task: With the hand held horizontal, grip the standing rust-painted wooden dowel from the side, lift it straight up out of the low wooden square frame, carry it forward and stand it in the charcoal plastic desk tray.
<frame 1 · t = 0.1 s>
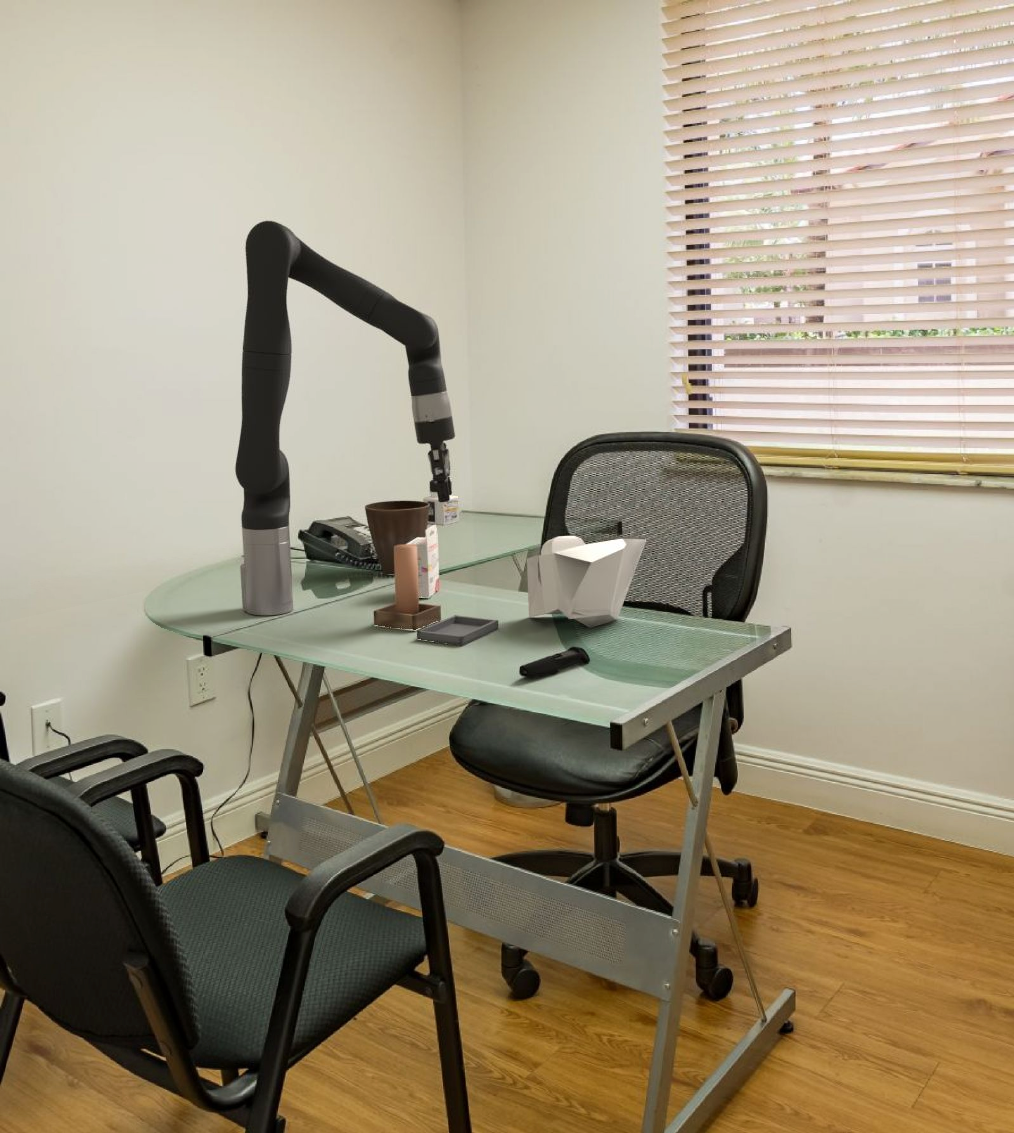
hand: (445, 498, 226), 22 cm above the table, tool pointing down, fingers open, 8 cm apart
desk tray: (458, 634, 209), on the table
dowel: (406, 585, 217), in the wooden square frame
wooden square frame: (407, 623, 218), on the table
electric trimmer: (555, 673, 186), on the table
ink cartridge box: (423, 595, 243), on the table
folded paper: (592, 622, 218), on the table
plant pot: (399, 573, 266), on the table
container: (441, 523, 340), on the table
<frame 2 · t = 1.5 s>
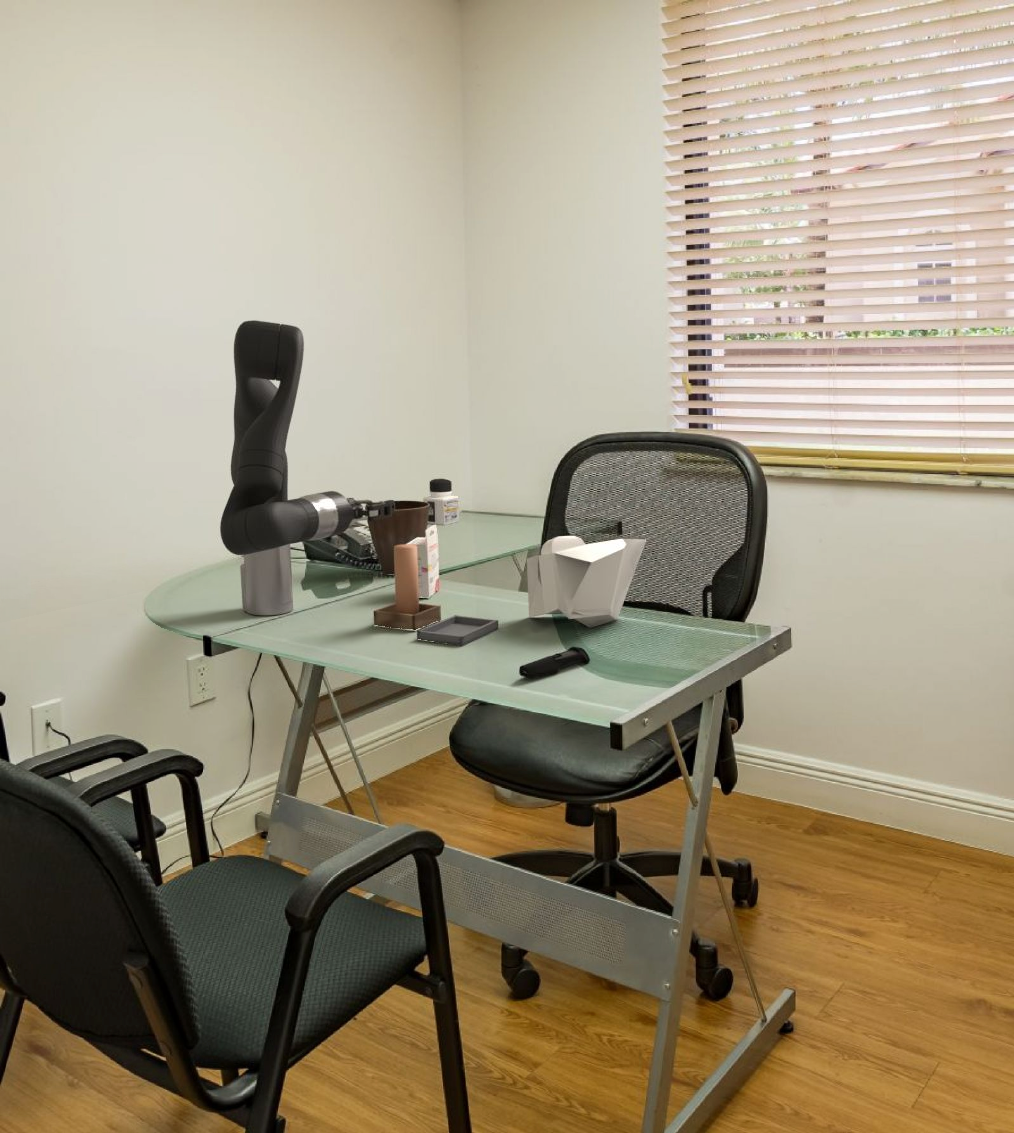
hand: (372, 504, 204), 24 cm above the table, tool horizontal, fingers open, 8 cm apart
nothing on the table moved.
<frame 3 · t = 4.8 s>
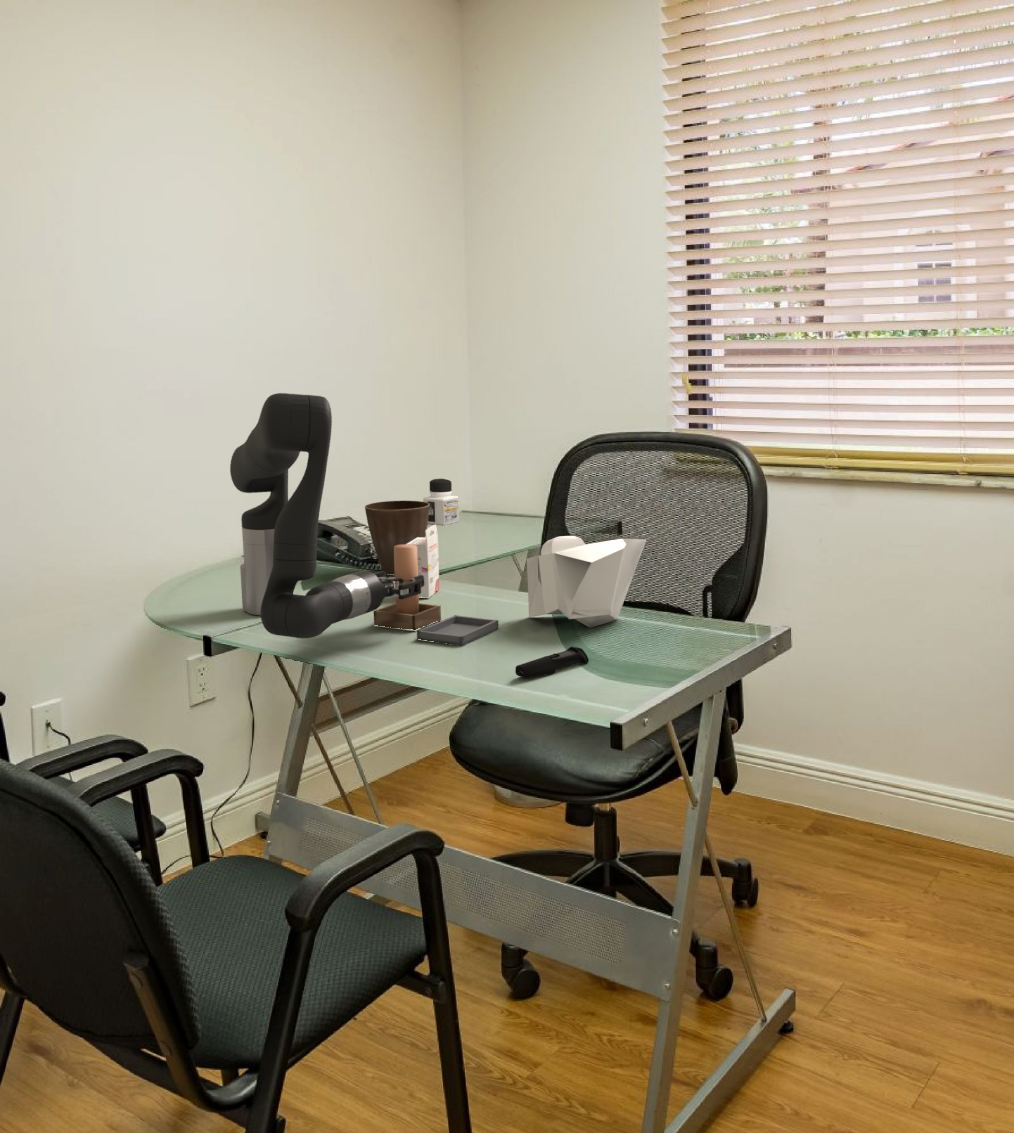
hand: (403, 578, 215), 9 cm above the table, tool horizontal, fingers open, 8 cm apart
nothing on the table moved.
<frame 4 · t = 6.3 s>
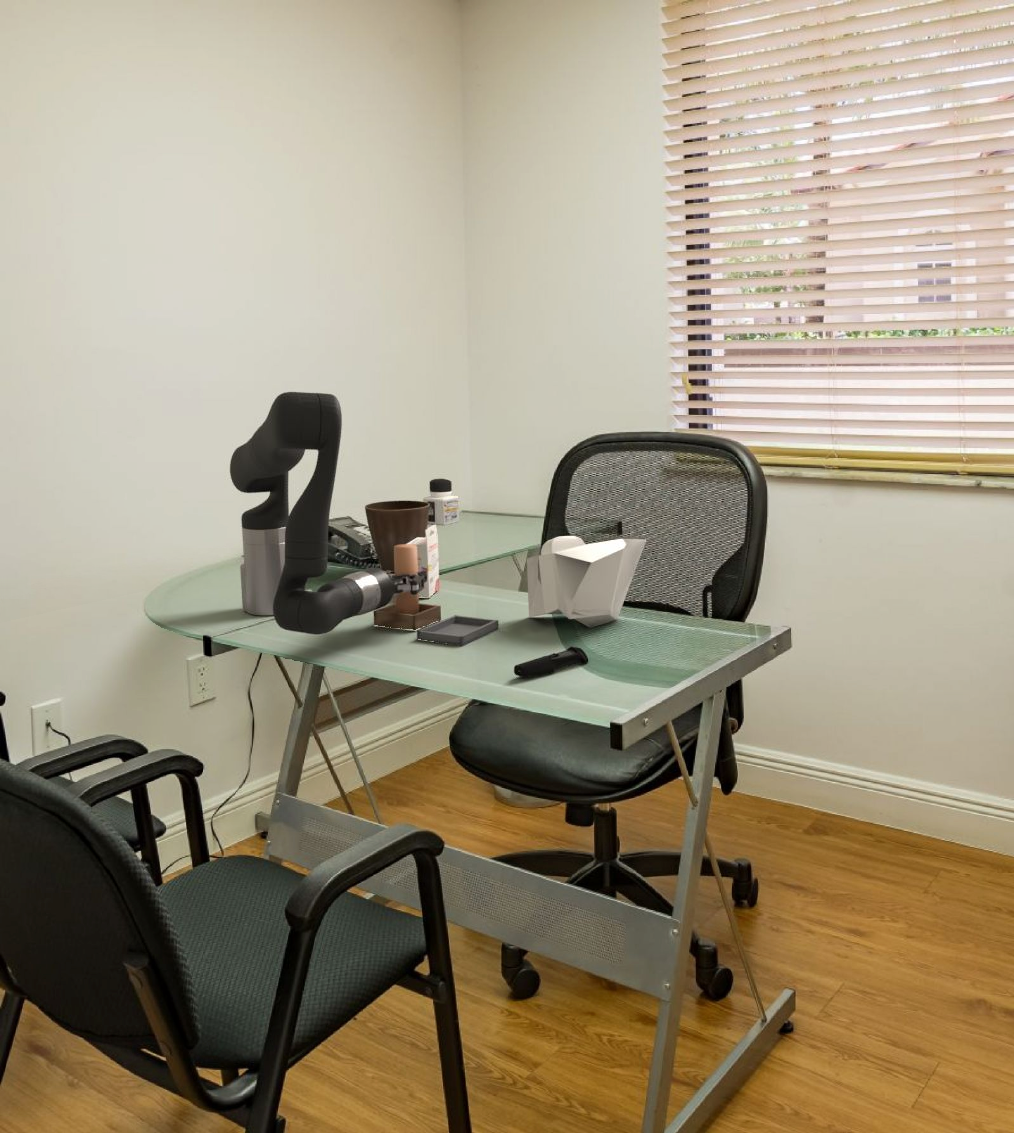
hand: (413, 574, 219), 9 cm above the table, tool horizontal, fingers closed on dowel, 4 cm apart
dowel: (406, 585, 217), in the wooden square frame, touching gripper
everything else where it was.
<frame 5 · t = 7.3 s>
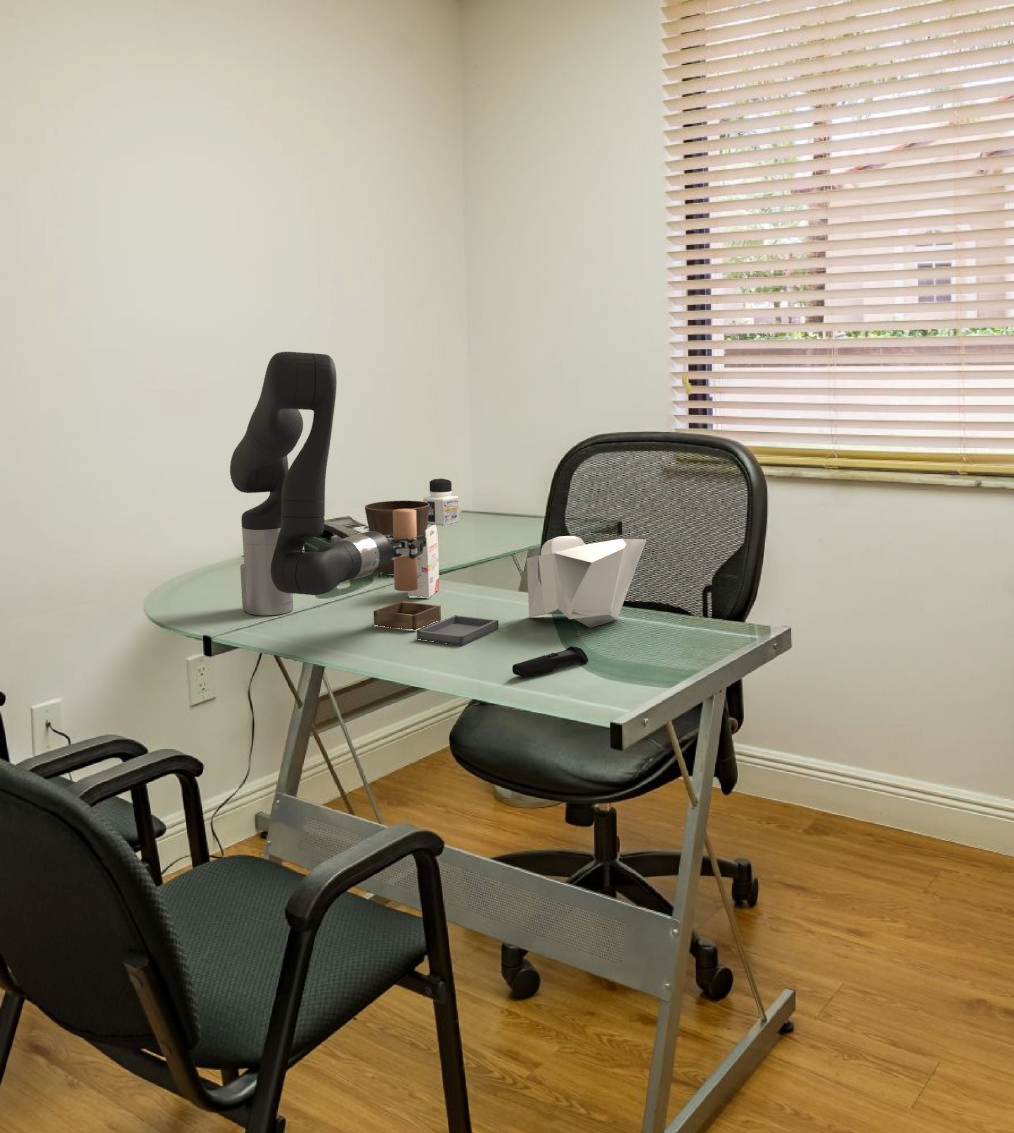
hand: (412, 539, 218), 16 cm above the table, tool horizontal, fingers closed on dowel, 4 cm apart
dowel: (405, 549, 216), point 14 cm above the table, touching gripper
everything else where it was.
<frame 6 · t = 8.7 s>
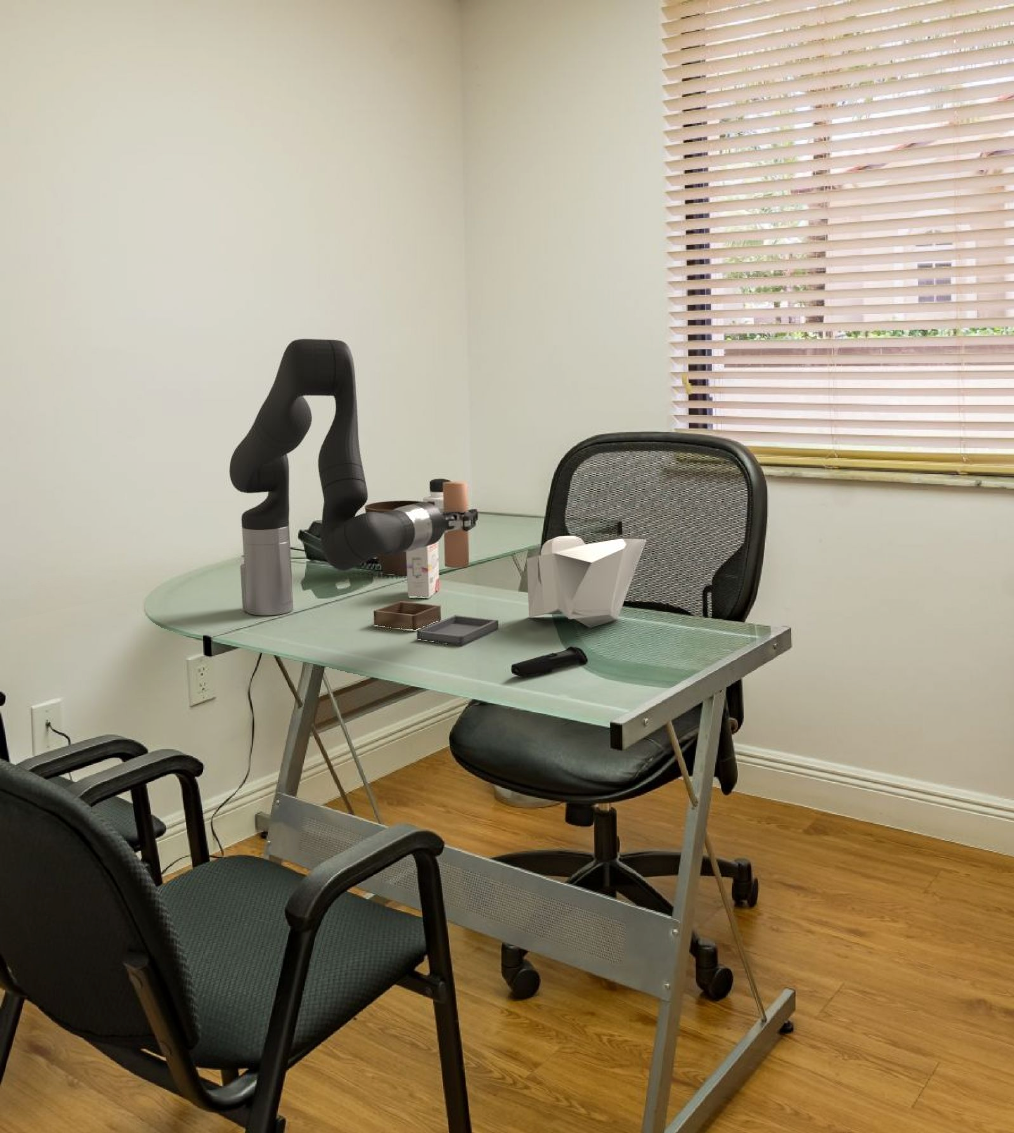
hand: (463, 513, 207), 22 cm above the table, tool horizontal, fingers closed on dowel, 4 cm apart
dowel: (456, 524, 205), point 20 cm above the table, touching gripper
everything else where it was.
when the fingers open (11 cm above the table, at t = 11.1 s): dowel drops 1 cm, resting on desk tray.
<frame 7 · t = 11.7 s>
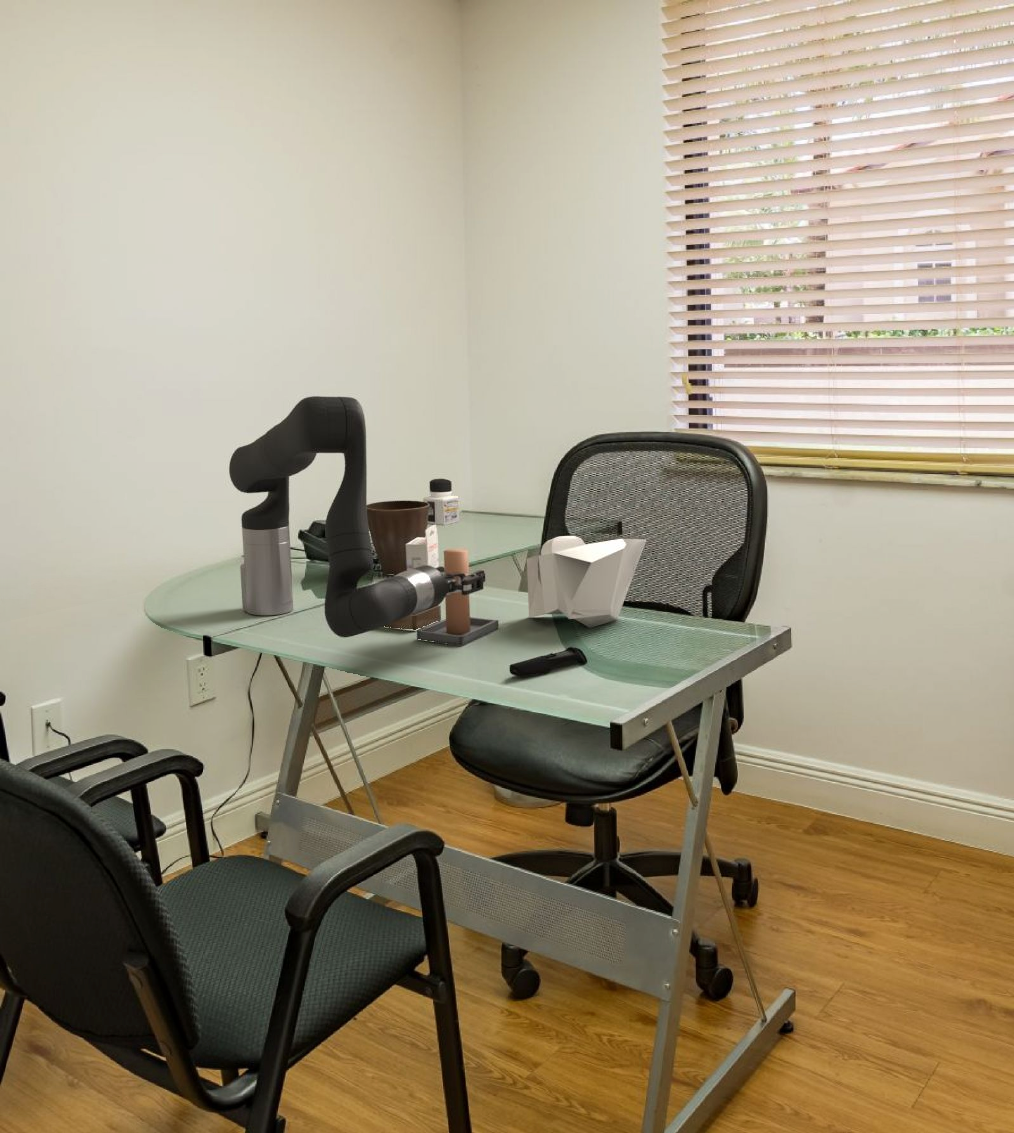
hand: (462, 573, 209), 11 cm above the table, tool horizontal, fingers open, 8 cm apart
dowel: (457, 591, 208), in the desk tray
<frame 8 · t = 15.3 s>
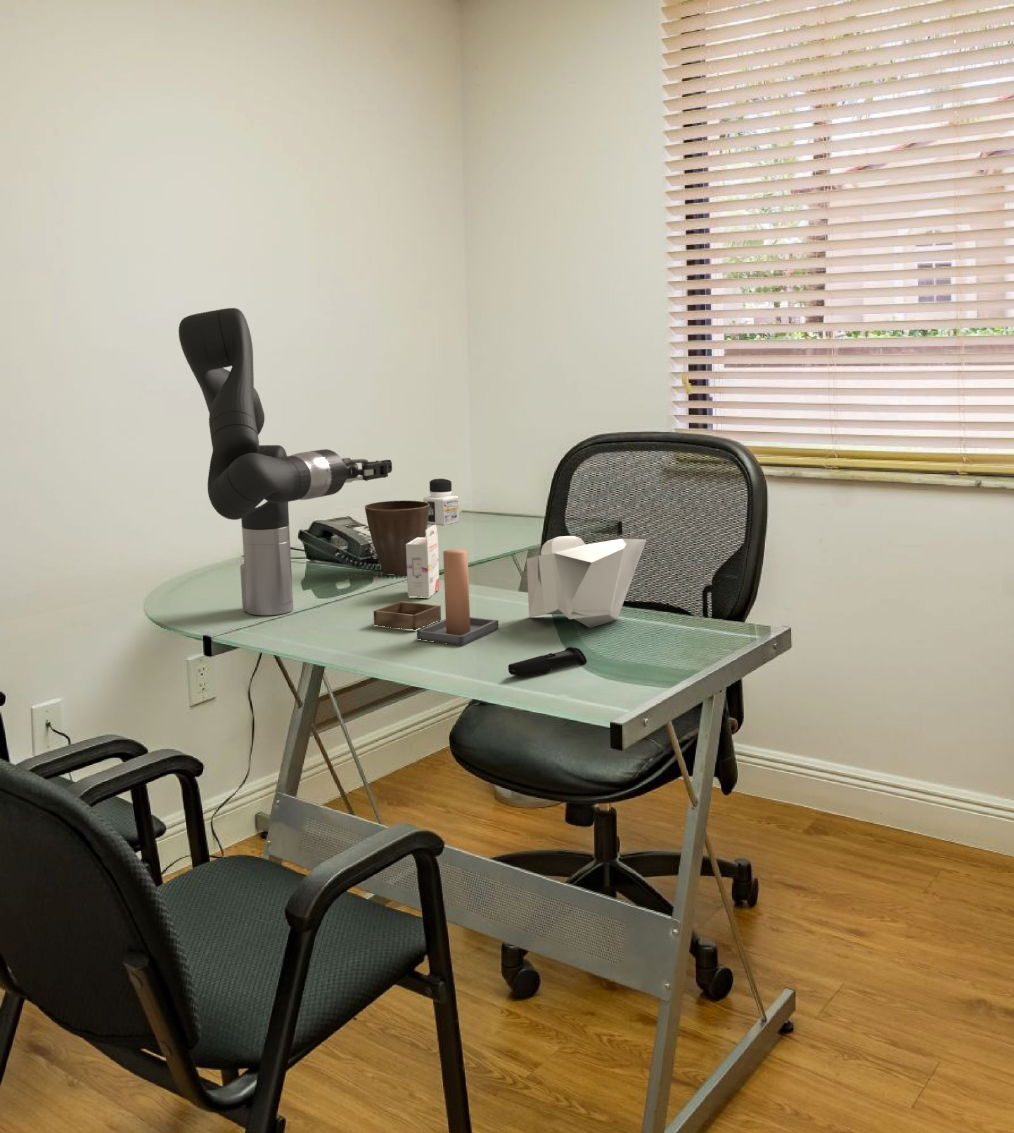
hand: (369, 464, 197), 32 cm above the table, tool horizontal, fingers open, 8 cm apart
at the end: dowel inside the target area on the desk tray (0.1 cm from its centre), point 8.0 cm above the desk tray's base; dowel tilted 1°; the gripper is holding nothing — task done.
